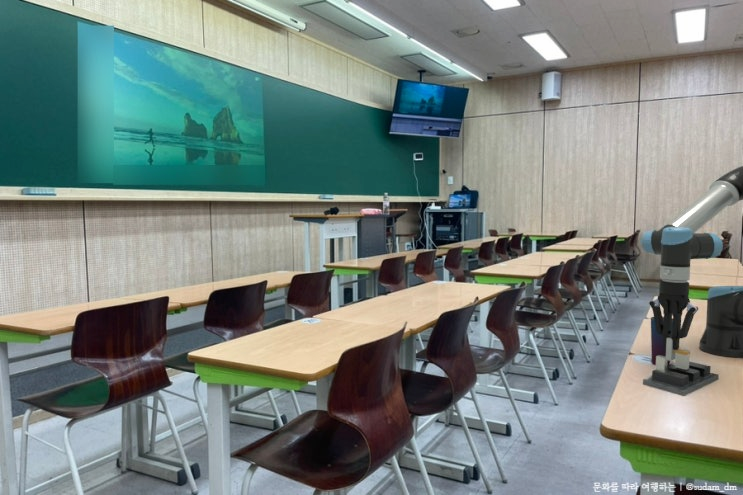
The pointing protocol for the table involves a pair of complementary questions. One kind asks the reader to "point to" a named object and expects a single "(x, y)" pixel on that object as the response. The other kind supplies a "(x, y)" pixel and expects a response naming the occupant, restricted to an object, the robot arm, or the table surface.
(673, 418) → the table surface
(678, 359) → the handle
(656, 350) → the cup
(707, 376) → the panel
